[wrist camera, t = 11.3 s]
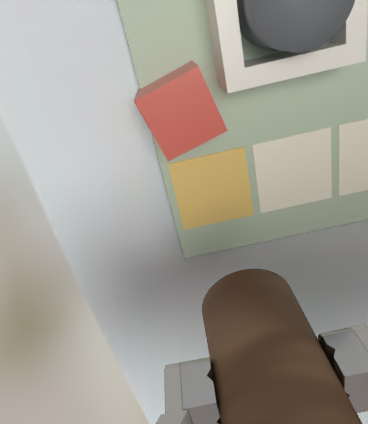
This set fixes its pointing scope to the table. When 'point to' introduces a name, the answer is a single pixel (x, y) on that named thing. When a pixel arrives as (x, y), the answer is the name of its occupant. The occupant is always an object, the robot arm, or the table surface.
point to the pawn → (269, 355)
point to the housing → (281, 61)
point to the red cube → (180, 110)
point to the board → (256, 139)
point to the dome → (292, 22)
